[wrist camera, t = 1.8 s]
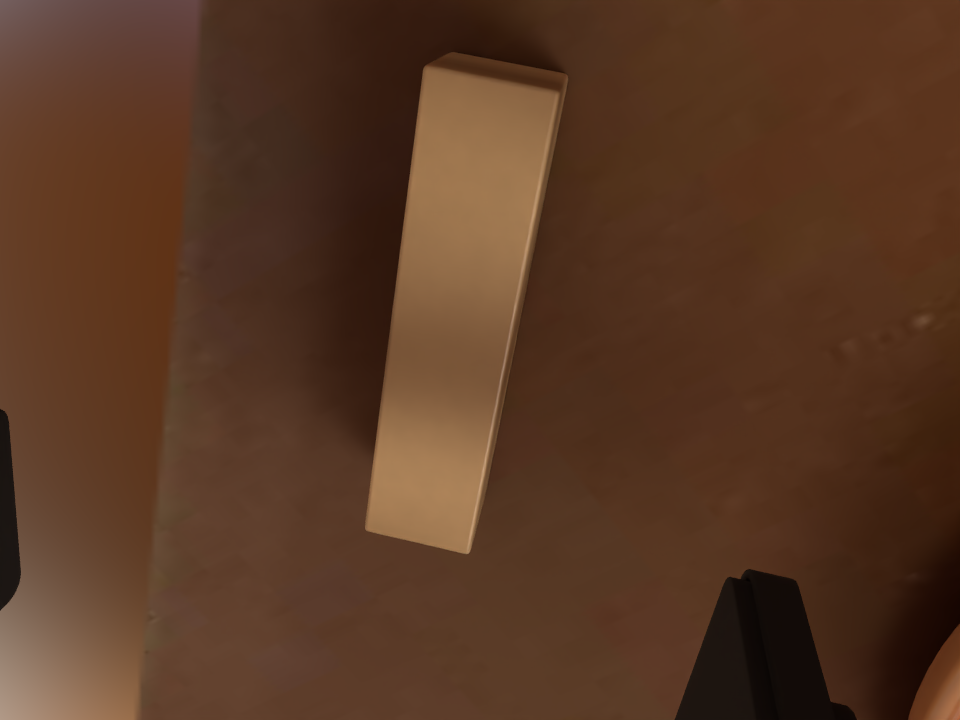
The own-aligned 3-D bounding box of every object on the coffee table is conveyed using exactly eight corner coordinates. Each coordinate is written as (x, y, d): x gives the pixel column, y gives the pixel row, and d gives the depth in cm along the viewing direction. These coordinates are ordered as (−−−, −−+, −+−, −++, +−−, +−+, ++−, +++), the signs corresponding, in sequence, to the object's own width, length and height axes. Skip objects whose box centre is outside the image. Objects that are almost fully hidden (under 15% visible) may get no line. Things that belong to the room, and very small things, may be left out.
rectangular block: (448, 50, 17) (422, 64, 15) (569, 73, 17) (561, 91, 15) (390, 473, 21) (363, 532, 19) (485, 495, 21) (469, 556, 19)
